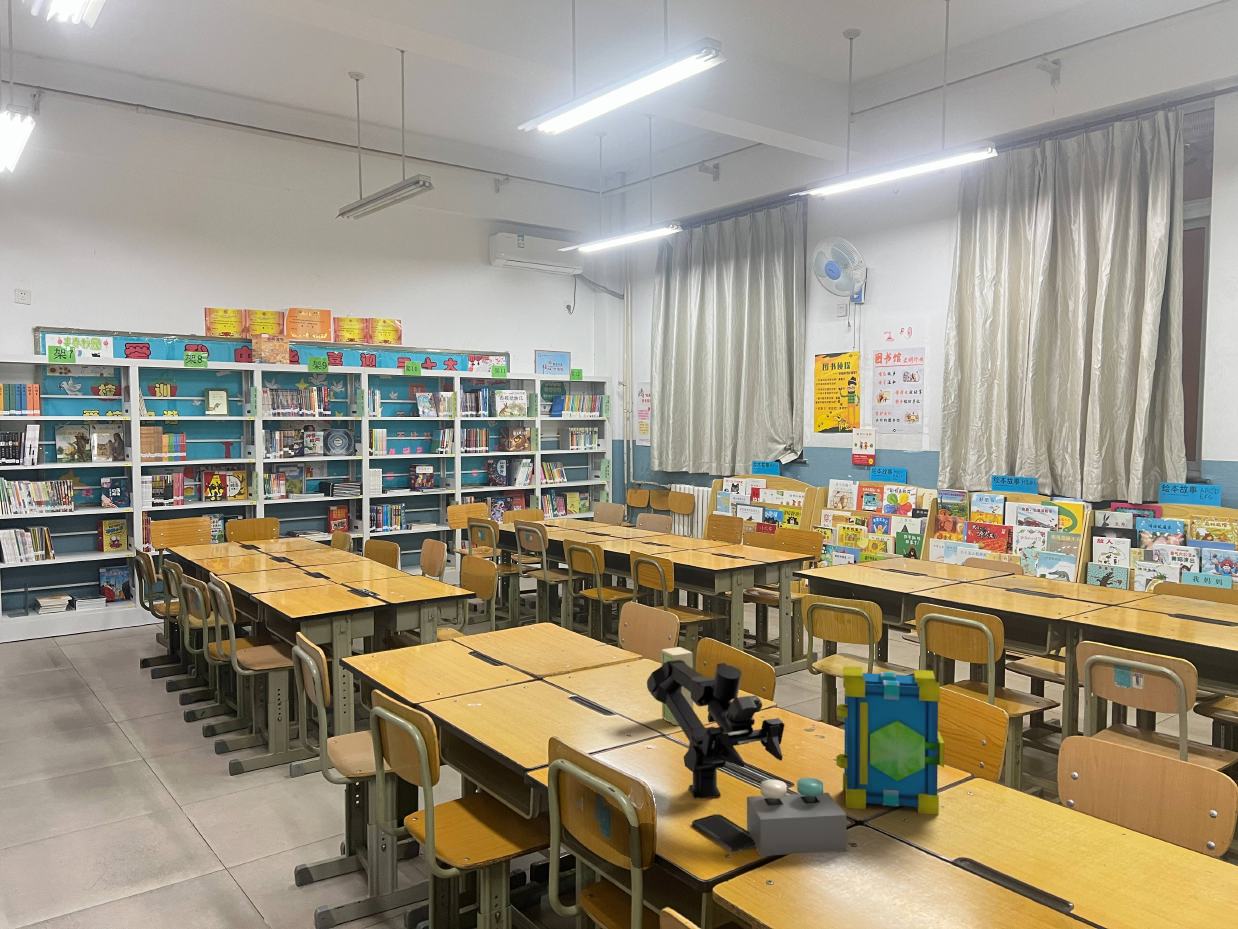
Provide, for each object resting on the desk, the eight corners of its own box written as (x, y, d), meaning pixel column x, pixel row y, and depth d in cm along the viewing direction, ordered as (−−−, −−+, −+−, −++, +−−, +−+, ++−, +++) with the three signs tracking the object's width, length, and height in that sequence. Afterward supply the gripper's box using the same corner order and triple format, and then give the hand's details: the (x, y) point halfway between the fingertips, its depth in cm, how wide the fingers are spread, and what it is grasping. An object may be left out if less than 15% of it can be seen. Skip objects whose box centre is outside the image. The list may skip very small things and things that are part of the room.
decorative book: (945, 819, 191) (946, 685, 189) (837, 811, 195) (838, 680, 194) (934, 793, 205) (935, 668, 203) (834, 785, 209) (835, 663, 208)
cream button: (757, 802, 185) (757, 780, 185) (782, 801, 186) (782, 779, 186) (764, 813, 180) (764, 790, 180) (789, 812, 181) (789, 789, 180)
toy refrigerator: (659, 718, 258) (658, 649, 258) (680, 715, 262) (680, 646, 261) (671, 726, 251) (671, 655, 250) (693, 723, 254) (693, 652, 254)
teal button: (793, 800, 186) (793, 778, 186) (818, 799, 187) (818, 777, 187) (801, 811, 181) (801, 788, 181) (826, 810, 181) (826, 787, 181)
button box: (746, 831, 186) (746, 796, 185) (827, 826, 188) (828, 792, 187) (760, 856, 175) (760, 819, 174) (846, 851, 177) (846, 815, 176)
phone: (718, 813, 193) (762, 840, 180) (718, 818, 193) (762, 845, 180) (689, 821, 189) (732, 849, 176) (689, 826, 189) (732, 855, 176)
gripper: (696, 691, 188) (729, 736, 174) (769, 682, 195) (807, 724, 181) (689, 734, 192) (721, 781, 178) (761, 723, 199) (798, 767, 185)
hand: (762, 762), depth 181 cm, fingers open, 9 cm apart
